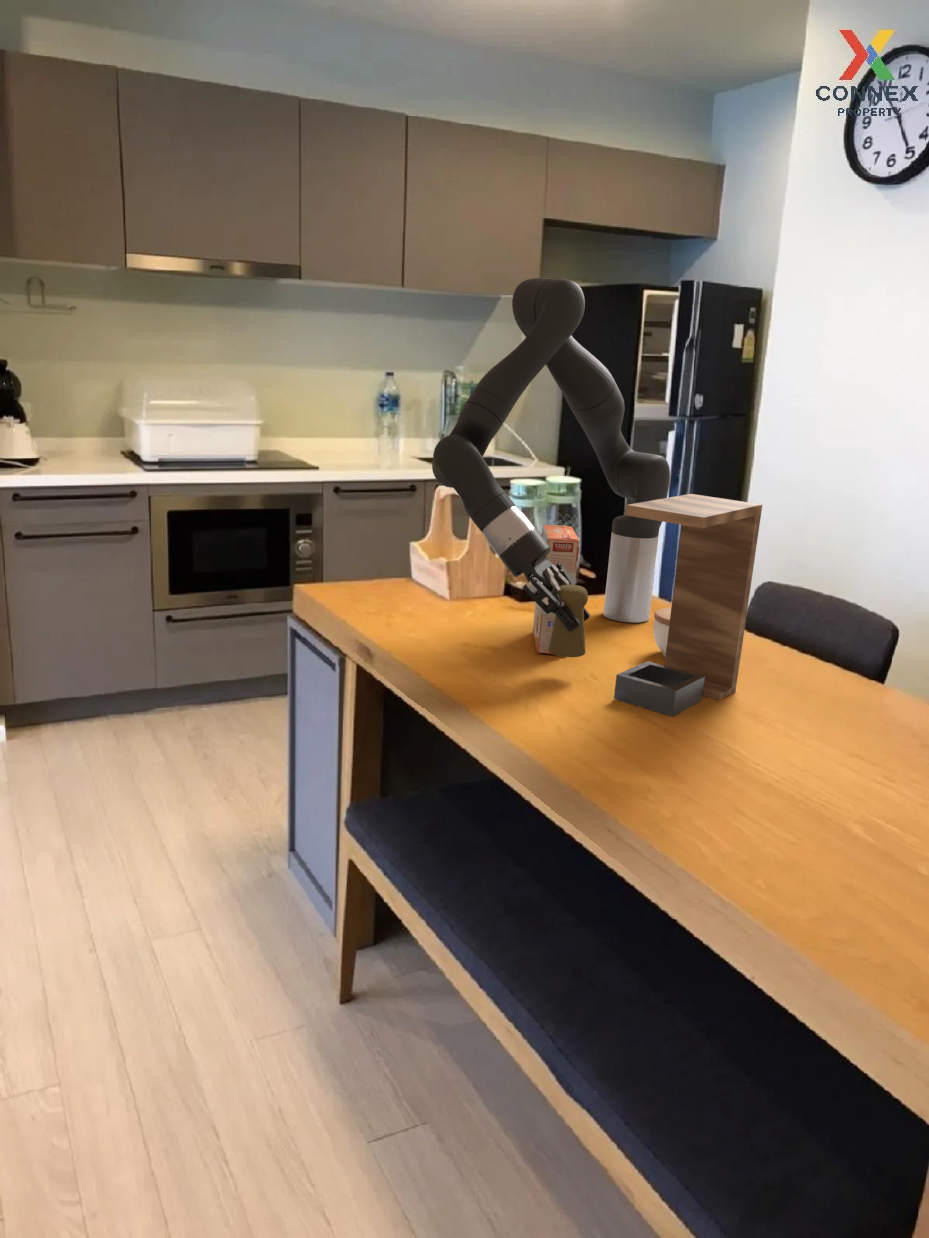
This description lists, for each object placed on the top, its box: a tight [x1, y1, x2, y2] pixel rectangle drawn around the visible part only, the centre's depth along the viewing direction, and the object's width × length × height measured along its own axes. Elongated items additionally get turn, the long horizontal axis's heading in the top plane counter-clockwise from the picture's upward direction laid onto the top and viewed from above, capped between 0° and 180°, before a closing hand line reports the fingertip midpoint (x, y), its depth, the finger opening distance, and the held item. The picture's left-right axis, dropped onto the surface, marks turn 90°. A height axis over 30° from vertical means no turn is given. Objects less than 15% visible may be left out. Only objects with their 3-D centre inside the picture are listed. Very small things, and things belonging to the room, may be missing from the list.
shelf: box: [625, 493, 763, 701], centre depth 149 cm, size 21×12×30 cm, turn 142°
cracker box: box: [532, 524, 580, 655], centre depth 174 cm, size 14×6×21 cm, turn 179°
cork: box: [548, 584, 589, 658], centre depth 157 cm, size 6×6×11 cm
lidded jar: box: [653, 606, 672, 657], centre depth 173 cm, size 11×11×9 cm
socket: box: [613, 660, 705, 717], centre depth 151 cm, size 10×10×4 cm
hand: (580, 623), depth 156 cm, fingers closed on cork, 5 cm apart
